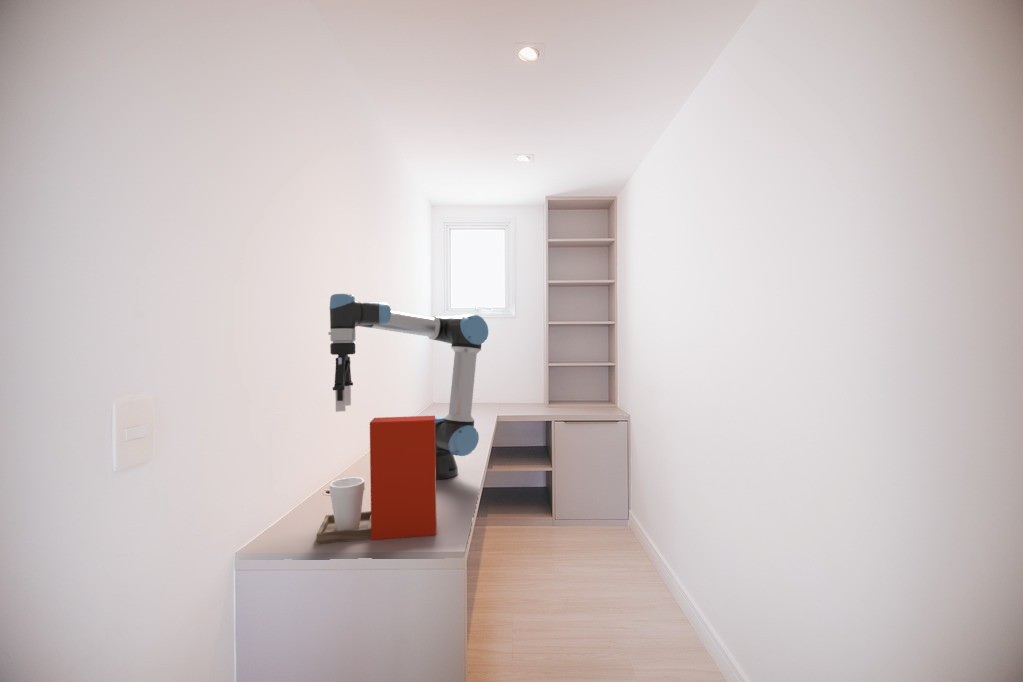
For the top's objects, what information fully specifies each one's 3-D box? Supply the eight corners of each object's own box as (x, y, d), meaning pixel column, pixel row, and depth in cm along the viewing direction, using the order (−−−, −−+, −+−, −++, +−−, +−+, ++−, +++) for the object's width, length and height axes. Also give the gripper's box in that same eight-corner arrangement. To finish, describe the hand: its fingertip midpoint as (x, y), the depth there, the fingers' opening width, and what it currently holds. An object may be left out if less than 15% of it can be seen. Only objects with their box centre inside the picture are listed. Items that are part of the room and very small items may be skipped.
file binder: (435, 536, 123) (434, 419, 123) (371, 540, 121) (369, 422, 121) (436, 524, 131) (435, 415, 131) (375, 528, 129) (374, 417, 129)
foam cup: (370, 527, 127) (370, 482, 128) (339, 537, 121) (338, 489, 121) (355, 518, 134) (355, 475, 134) (324, 527, 128) (324, 482, 128)
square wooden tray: (326, 523, 133) (325, 515, 133) (375, 518, 136) (375, 510, 136) (316, 544, 119) (316, 534, 119) (371, 538, 122) (371, 529, 122)
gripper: (336, 342, 155) (337, 403, 155) (323, 342, 131) (324, 414, 131) (359, 342, 157) (360, 402, 157) (350, 341, 132) (351, 413, 132)
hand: (343, 408), depth 144 cm, fingers open, 13 cm apart
